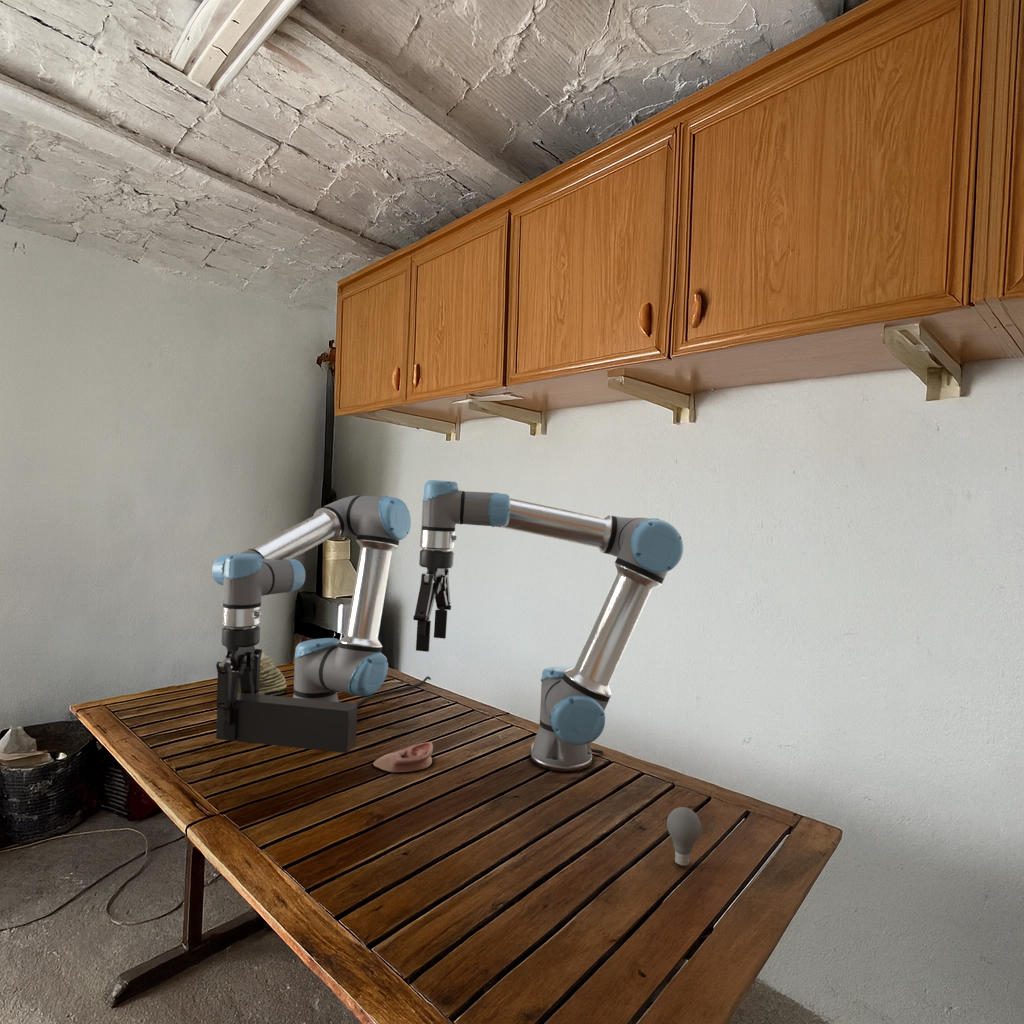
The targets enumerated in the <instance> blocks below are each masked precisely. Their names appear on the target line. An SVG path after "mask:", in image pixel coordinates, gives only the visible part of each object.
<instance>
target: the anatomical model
mask: <svg viewBox="0 0 1024 1024" xmlns="http://www.w3.org/2000/svg"><path fill="white" fill-rule="evenodd" d="M433 751H434V744H433V743H432V742H430V741H426V742H422V743H418V744H414V745H411V746H408V747H406V748H403V749H401V750H397V751H394V752H390V753H387V754H385V755H382V756H381V757H378V758H377V759H375V760H374V762H373V763H372V764H373V766H374V767H375V768H378V769H380V770H382V771H385V772H388V773H408V772H416V771H420V770H424V769H426V768H428V767H430V766H431V765H432V763H433V758H432V756H431V755H432V754H433Z"/></svg>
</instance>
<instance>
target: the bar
mask: <svg viewBox="0 0 1024 1024" xmlns="http://www.w3.org/2000/svg"><path fill="white" fill-rule="evenodd" d="M235 708H238V724H237V739H236V740H231V739H223V727H224V723H223V719H224V710H223V709H219V708H217V707H216V731H215V739H216V740H224V741H233V742H242V743H250V744H259V745H268V746H277V747H286V748H294V749H295V748H296V749H303V750H304V749H306V750H313V751H323V752H330V753H331V752H333V753H341V754H348V753H349V751H351V750H352V749H353V748H354V747H355V746H356V745H357V727H358V726H357V724H358V706H357V704H356V703H352V702H342V701H339V702H333V701H323V700H312V699H302V698H293V697H290V696H281V695H272V696H271V695H261V694H250V693H240V692H238V695H237V701H236V707H235Z"/></svg>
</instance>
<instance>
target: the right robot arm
mask: <svg viewBox="0 0 1024 1024" xmlns="http://www.w3.org/2000/svg"><path fill="white" fill-rule="evenodd" d="M458 484H459V483H457V482H456V481H450V480H438V479H437V480H435V479H434V480H432V479H431V480H428V481H426V482H425V483H424V486H423V497H422V506H421V508H422V510H421V529H420V542H419V547H420V548H422V549H421V550H420V551H419V560H418V561H419V562H418V563H419V566H420V567H421V568H426V573H421V576H420V586H419V591H418V596H417V601H416V606H415V610H414V615H413V621H417V624H416V641H415V651H417V652H425V653H428V652H430V642H431V641H430V640H431V626H432V623H431V622H432V621H431V620H430V618H431V615H432V611H433V607H434V603H435V606H436V609H435V611H434V627H433V638H435V639H443V640H445V639H446V638H447V626H448V625H447V622H448V611H451V610H452V605H451V594H450V579H449V572H450V569H451V568H453V567H454V556H455V555H454V554H455V553H454V551H453V550H454V548H455V541H456V540H458V539H457V538H458V537H457V535H455V533H456V532H455V531H456V525H467V526H468V525H469V526H484V527H492V528H501V529H506V530H511V531H515V532H516V531H517V532H521V533H524V534H525V533H526V534H530V535H534V536H540V537H544V538H548V539H549V538H550V539H554V540H559V541H564V542H568V543H574V544H578V545H583V546H587V547H591V548H596V549H597V550H598V551H599V552H600V553H601V554H604V555H605V554H606V555H610V556H612V557H616V560H615V561H614V567H615V569H616V575H615V577H614V579H613V582H612V584H611V586H610V588H609V590H608V593H607V595H606V597H605V600H604V602H603V604H602V605H601V608H600V611H599V612H598V615H597V616H596V619H595V621H594V624H593V626H592V628H591V630H590V632H589V634H588V636H587V639H586V641H585V643H584V645H583V648H582V650H581V652H580V654H579V656H578V658H577V660H576V662H575V665H574V666H549V667H545V668H544V669H543V670H542V671H541V672H542V673H541V678H540V682H541V686H540V711H539V727H538V730H537V733H536V735H535V738H534V741H532V744H531V746H530V748H531V750H530V760H531V761H532V763H534V764H535V765H536V766H538V767H540V768H542V769H545V770H550V771H555V772H562V773H571V772H572V773H573V772H579V771H582V770H585V769H588V768H589V767H591V765H592V764H593V753H595V754H599V755H603V754H604V750H600V749H596V748H591V745H590V744H591V743H592V742H595V741H596V740H597V739H598V738H599V737H600V736H601V734H603V731H604V730H605V726H606V713H605V710H606V708H607V706H608V704H609V702H610V699H611V697H612V691H611V688H610V682H611V681H612V678H613V676H614V674H615V671H616V669H617V667H618V665H619V662H620V661H621V658H622V656H623V654H624V652H625V650H626V647H627V646H628V643H629V641H630V638H631V636H632V634H633V632H634V630H635V627H636V625H637V623H638V621H639V618H640V617H641V614H642V612H643V610H644V608H645V606H646V603H647V601H648V599H649V597H650V595H651V593H652V590H653V589H656V588H658V587H661V586H662V585H663V583H664V581H665V578H666V576H667V574H668V573H669V572H670V571H671V570H673V569H675V568H676V566H677V565H678V564H679V563H680V561H681V560H682V558H683V554H684V541H683V539H682V536H681V533H680V532H679V530H678V529H677V528H676V527H675V526H674V525H672V524H671V523H670V522H667V521H665V520H662V519H660V518H657V517H656V518H654V517H653V518H652V517H651V518H649V517H623V516H616V515H612V514H611V515H610V514H607V515H606V516H605V517H601V516H597V515H591V514H587V513H581V512H577V511H572V510H568V509H562V508H557V507H553V506H548V505H543V504H539V503H535V502H529V501H523V500H519V499H516V498H515V499H514V498H511V497H510V496H509V494H507V493H502V492H501V493H500V492H487V491H465V490H460V489H459V485H458Z"/></svg>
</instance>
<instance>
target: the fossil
mask: <svg viewBox="0 0 1024 1024" xmlns="http://www.w3.org/2000/svg"><path fill="white" fill-rule="evenodd" d="M256 649H262V654H261V659H260V684H259V693H258V694H261V695H271V696H277V695H281V694H284V693H285V691H286V689H287V687H288V686H287V680H286V678H285V676H284V674H283V673H282V672H281V669H279V668H278V667H277V665H276V663H275V662H274V660H273V659H272V658H271V657H270V656H269V655H268V654H267V653H266V652H265V650H264V649H263V648H260V647H258V648H256ZM233 672H238V671H233ZM254 688H255V687H254ZM238 692H240V693H241V686H240V683H239V689H238Z"/></svg>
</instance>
